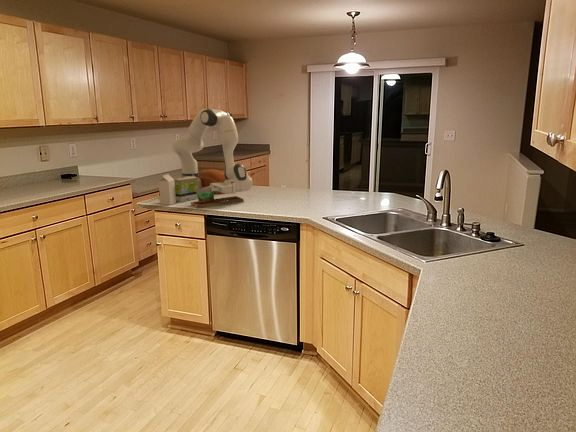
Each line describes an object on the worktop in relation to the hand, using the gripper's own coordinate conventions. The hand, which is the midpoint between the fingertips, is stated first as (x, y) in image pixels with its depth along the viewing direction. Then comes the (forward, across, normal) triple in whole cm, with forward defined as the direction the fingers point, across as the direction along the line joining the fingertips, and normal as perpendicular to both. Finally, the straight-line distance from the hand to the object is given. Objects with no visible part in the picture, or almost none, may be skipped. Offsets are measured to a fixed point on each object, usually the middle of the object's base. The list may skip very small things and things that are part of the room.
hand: (208, 189), depth 266 cm
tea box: (+7, -24, +10) cm, 27 cm away
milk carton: (+21, -18, +10) cm, 29 cm away
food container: (+2, 0, +9) cm, 9 cm away
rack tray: (-5, 0, +10) cm, 11 cm away
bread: (-22, -44, +10) cm, 50 cm away
